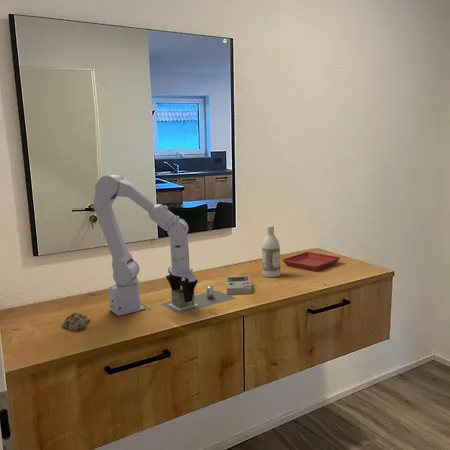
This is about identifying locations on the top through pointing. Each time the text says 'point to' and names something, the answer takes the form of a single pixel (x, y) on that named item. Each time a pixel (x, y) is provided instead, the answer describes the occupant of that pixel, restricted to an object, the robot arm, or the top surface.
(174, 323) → the top surface
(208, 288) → the peg
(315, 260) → the plant saucer
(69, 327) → the mineral rock
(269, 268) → the bath foam
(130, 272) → the robot arm
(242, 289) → the handheld gaming device
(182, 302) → the sleeve
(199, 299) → the board
